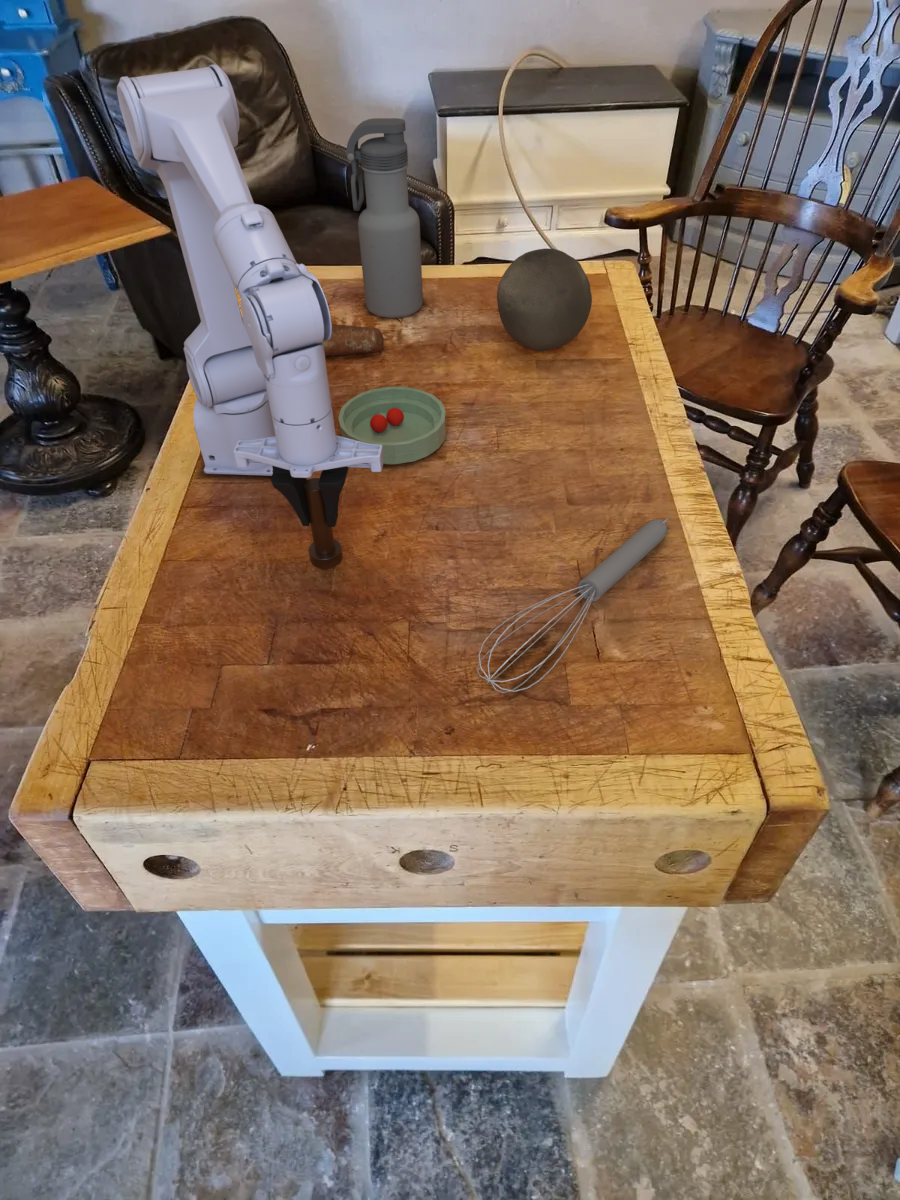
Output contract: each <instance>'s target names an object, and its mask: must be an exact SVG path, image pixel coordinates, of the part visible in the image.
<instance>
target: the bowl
mask: <svg viewBox="0 0 900 1200" xmlns="http://www.w3.org/2000/svg"><path fill="white" fill-rule="evenodd" d="M392 408H398V409H400V410H401V411H402V412H403V414H404V420H403V422H402V423H401V424H400V425H398V426H392V425H390V424H389V423H388V426H387V428H386V430H385V431H383V432H375V431H373V430H372V428H371V426H370V420H371V418H372V417H373V416H374V415H377V414H380V415H383V416H385V417H386V415H387V412H388V411H389V410H390V409H392ZM338 413H339V414H338V417H337V421H338V426H339V428H338V429H339V436H340V437H344V438H348V439H352V440H356V441H360V442H364V443H368V444H377V445H383V456H384V463H383V465H400V464H407V463H413V462H416V461H419V460H421V459H423V458H426V457H428V456H430V455H431V454H433V453H434V452H436V451H437V450H438V449H439V448H440V447H441V445H442V444H443V443H444V442H445V441H446V437H447V411H446V408H445V406H444V404H443V402H442V401H441V400H440V399H439V398H437V397H436V396H435V395H434V394H431V393H430V392H428V391H425V390H422V389H417V388H413V387H410V386H384V387H377V388H373V389H369V390H366V391H363V392H360V393H358V394H357V395H355V396H354V397H351V398H349V400H347V401H346V402H345V404H344V405H343V406H341V408H340V410H339V412H338Z"/></svg>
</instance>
